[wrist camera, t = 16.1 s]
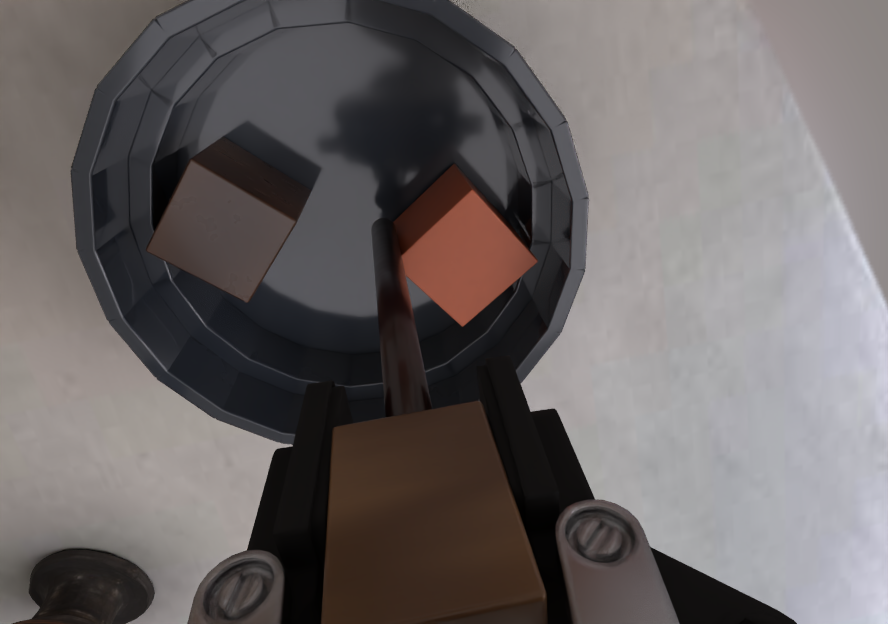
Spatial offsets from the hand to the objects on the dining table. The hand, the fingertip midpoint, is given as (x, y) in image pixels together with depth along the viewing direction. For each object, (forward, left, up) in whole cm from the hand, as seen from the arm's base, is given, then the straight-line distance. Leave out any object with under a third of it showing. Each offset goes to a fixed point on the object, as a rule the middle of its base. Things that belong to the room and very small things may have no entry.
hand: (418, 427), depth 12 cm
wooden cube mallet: (+1, 0, -12) cm, 12 cm away
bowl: (+2, 0, -14) cm, 14 cm away
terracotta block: (-2, 0, -13) cm, 14 cm away
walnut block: (+7, +1, -14) cm, 15 cm away
